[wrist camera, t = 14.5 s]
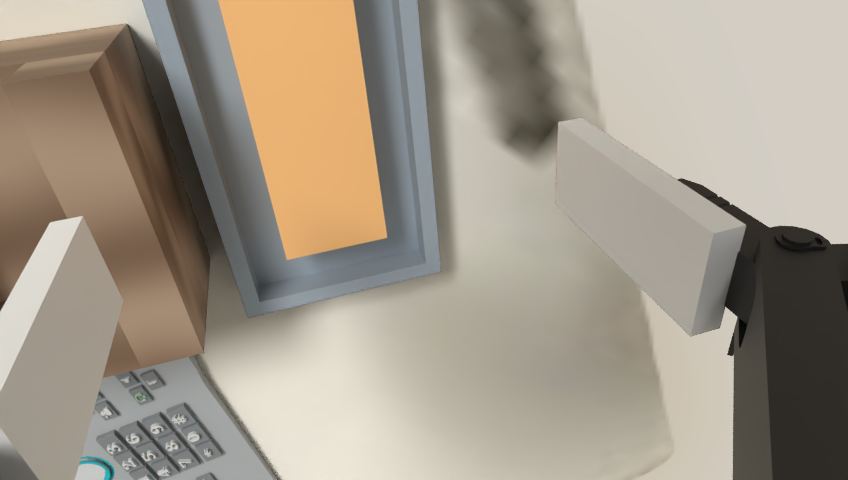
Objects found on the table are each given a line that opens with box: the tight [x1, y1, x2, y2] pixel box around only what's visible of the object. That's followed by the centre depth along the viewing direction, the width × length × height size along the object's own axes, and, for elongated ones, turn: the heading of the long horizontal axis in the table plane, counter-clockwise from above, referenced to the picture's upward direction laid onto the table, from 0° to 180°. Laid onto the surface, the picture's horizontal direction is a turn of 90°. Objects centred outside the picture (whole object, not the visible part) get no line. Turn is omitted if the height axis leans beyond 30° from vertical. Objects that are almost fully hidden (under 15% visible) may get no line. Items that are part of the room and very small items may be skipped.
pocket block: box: [0, 24, 210, 378], centre depth 23 cm, size 12×11×8 cm
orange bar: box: [218, 0, 387, 260], centre depth 25 cm, size 16×5×2 cm, turn 5°
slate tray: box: [142, 0, 441, 318], centre depth 25 cm, size 24×11×2 cm, turn 5°
